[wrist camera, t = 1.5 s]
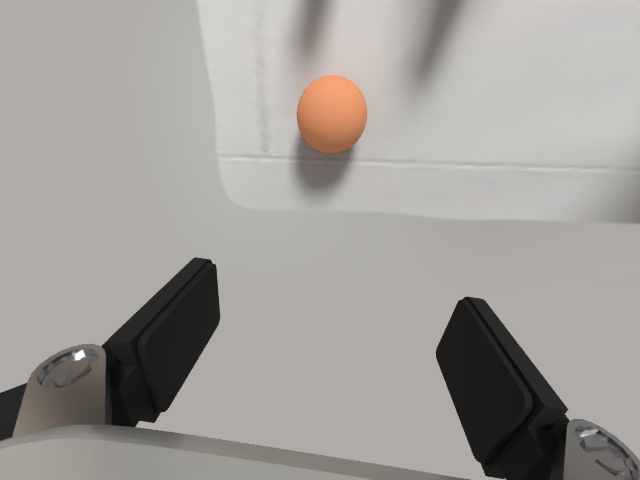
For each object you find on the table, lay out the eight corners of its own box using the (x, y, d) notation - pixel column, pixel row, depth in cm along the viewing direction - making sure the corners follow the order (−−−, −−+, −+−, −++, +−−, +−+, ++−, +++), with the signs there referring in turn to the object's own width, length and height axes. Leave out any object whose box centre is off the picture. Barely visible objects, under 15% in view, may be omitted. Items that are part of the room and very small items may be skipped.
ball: (367, 78, 23) (372, 69, 18) (362, 148, 26) (365, 159, 20) (302, 80, 24) (287, 71, 18) (304, 148, 26) (292, 158, 21)
